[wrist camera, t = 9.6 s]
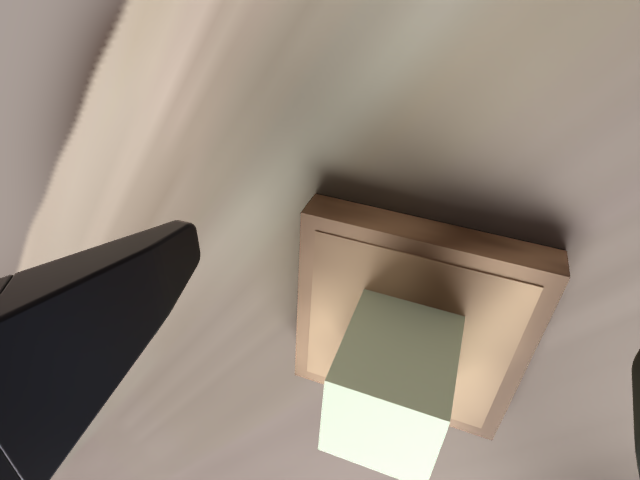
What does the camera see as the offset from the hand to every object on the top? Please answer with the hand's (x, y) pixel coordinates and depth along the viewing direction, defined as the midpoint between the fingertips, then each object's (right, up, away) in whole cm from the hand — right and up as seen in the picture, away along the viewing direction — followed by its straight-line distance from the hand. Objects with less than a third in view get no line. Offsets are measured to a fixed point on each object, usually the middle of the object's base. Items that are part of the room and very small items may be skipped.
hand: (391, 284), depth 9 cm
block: (+3, -4, +15) cm, 16 cm away
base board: (+4, -3, +17) cm, 17 cm away
